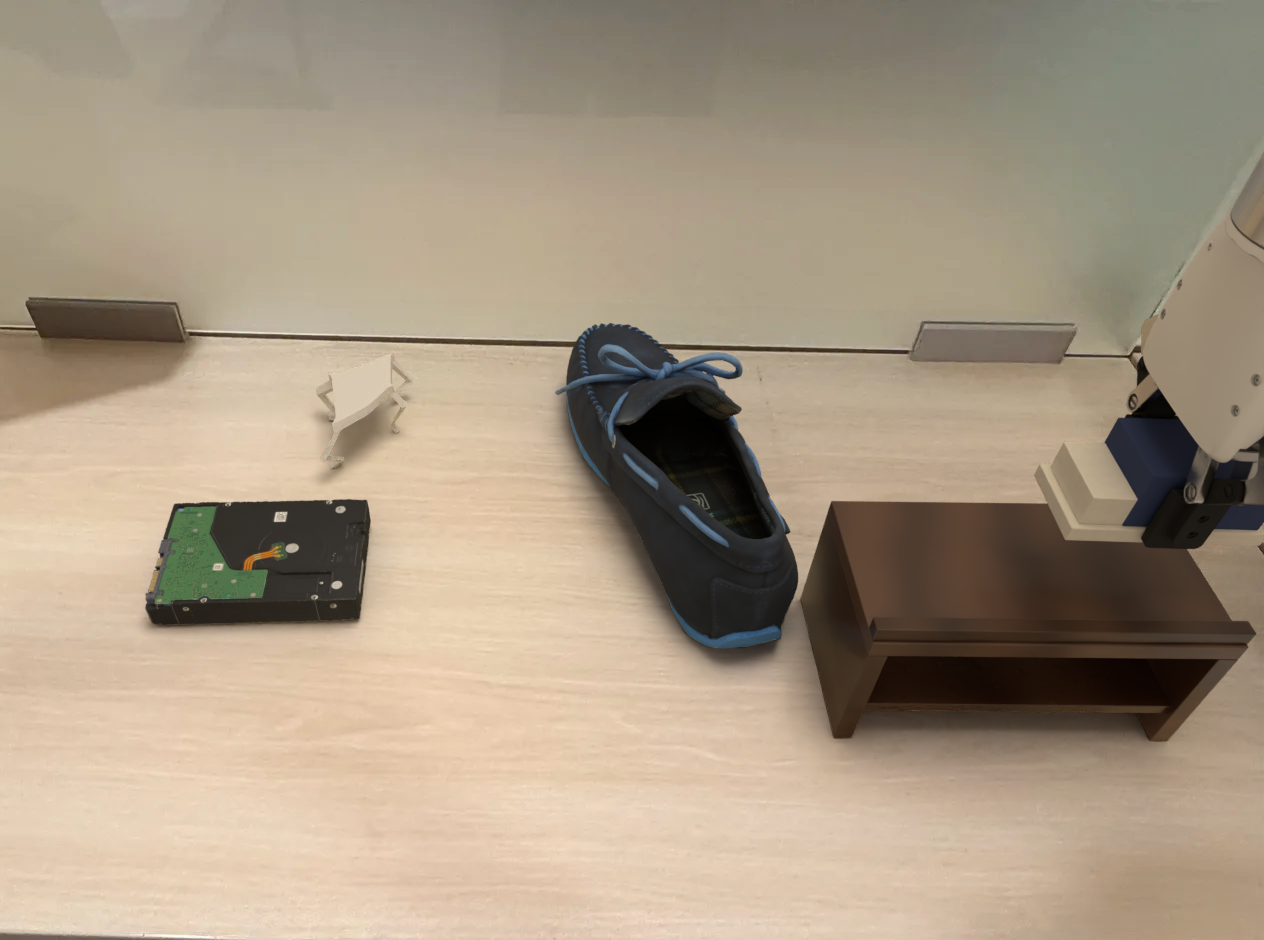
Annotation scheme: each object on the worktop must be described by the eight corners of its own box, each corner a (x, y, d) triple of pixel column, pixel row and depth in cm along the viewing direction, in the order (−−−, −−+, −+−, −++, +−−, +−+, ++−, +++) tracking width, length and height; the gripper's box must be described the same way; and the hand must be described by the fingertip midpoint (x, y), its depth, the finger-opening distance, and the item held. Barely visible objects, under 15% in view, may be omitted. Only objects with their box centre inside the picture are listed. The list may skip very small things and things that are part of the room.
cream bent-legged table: (327, 390, 88) (319, 344, 85) (419, 396, 88) (415, 350, 84) (293, 479, 80) (283, 433, 77) (394, 486, 80) (388, 440, 76)
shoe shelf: (1096, 601, 72) (1166, 493, 64) (1168, 741, 64) (1259, 636, 56) (800, 598, 72) (834, 489, 64) (833, 738, 64) (877, 633, 56)
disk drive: (371, 522, 77) (180, 526, 76) (368, 496, 75) (171, 500, 74) (362, 624, 70) (150, 630, 69) (358, 598, 68) (140, 604, 67)
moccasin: (666, 359, 93) (681, 245, 84) (874, 626, 70) (923, 508, 62) (529, 388, 89) (529, 273, 81) (702, 680, 67) (728, 563, 58)
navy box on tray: (1215, 480, 59) (1258, 418, 56) (1259, 546, 55) (1309, 484, 52) (1033, 475, 59) (1065, 412, 56) (1064, 540, 55) (1101, 477, 52)
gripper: (1548, 326, 38) (1284, 622, 51) (1315, 135, 50) (1150, 415, 63) (1354, 320, 38) (1140, 618, 51) (1168, 131, 50) (1033, 411, 63)
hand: (1147, 503), depth 57 cm, fingers closed on navy box on tray, 5 cm apart
